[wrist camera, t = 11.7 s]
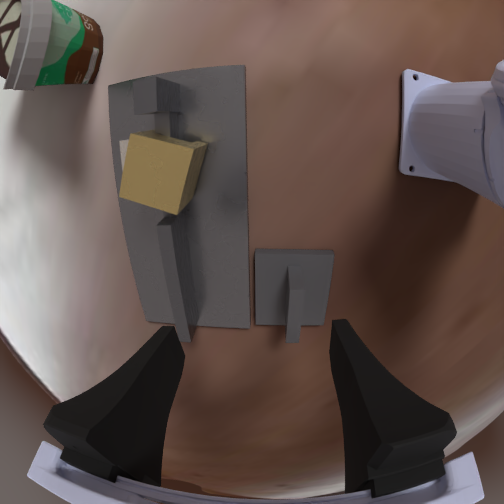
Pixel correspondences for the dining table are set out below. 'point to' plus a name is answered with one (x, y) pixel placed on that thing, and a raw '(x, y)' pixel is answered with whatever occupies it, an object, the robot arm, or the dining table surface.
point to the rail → (201, 205)
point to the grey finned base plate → (292, 288)
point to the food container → (47, 44)
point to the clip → (161, 170)
